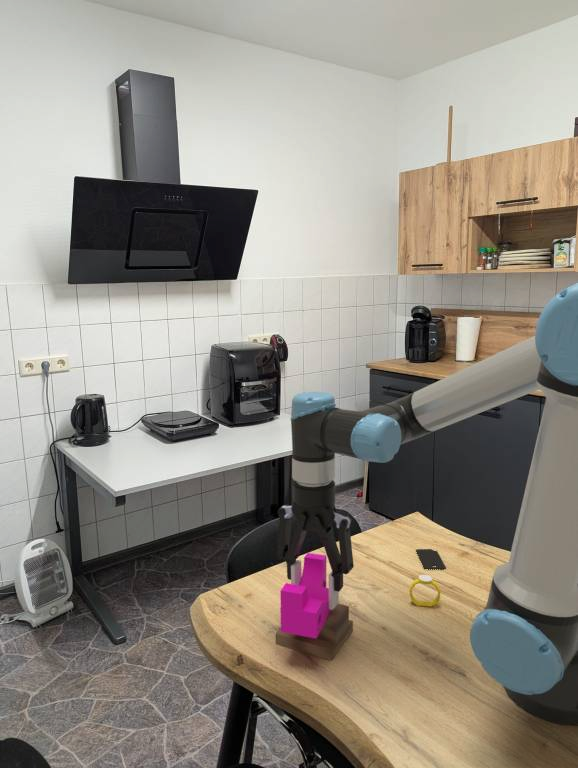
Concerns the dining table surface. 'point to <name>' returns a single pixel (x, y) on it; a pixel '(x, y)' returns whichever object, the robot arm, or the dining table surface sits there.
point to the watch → (425, 580)
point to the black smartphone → (430, 559)
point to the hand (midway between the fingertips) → (314, 600)
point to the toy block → (306, 599)
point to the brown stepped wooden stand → (322, 635)
